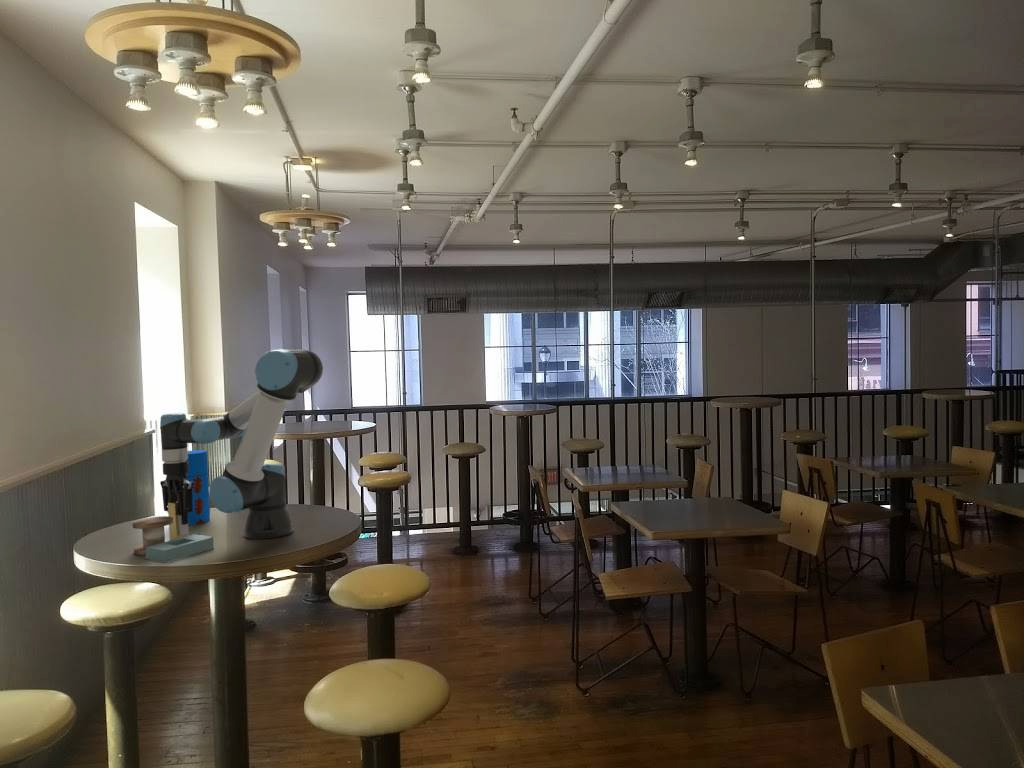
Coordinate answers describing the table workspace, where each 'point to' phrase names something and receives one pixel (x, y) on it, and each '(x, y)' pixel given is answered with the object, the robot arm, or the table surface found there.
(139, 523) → the spool
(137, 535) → the table surface
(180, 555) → the notch board
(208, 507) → the thermos
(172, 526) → the tab
